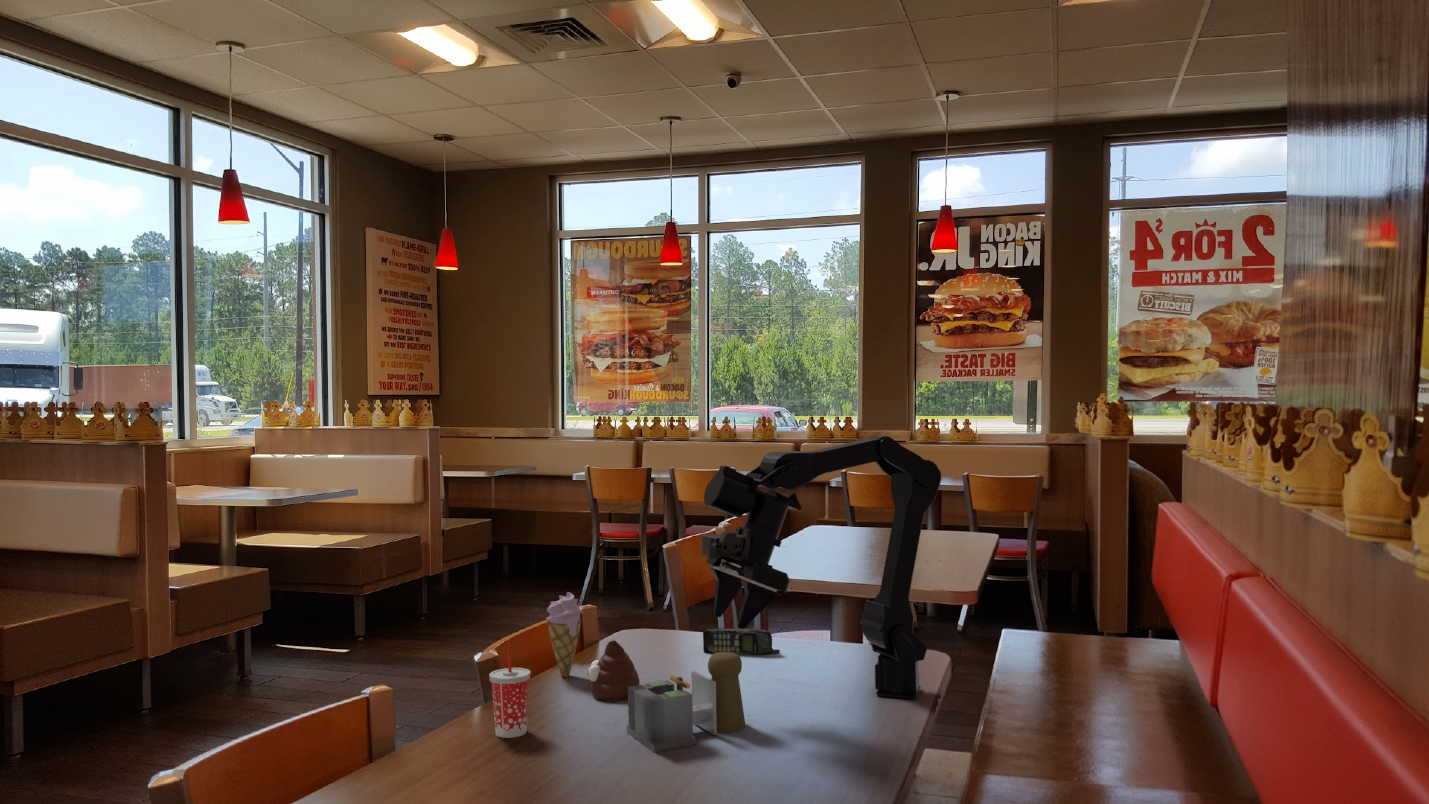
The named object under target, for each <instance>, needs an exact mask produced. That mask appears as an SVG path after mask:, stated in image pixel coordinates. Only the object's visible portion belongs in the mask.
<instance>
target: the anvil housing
mask: <svg viewBox="0 0 1429 804" xmlns="http://www.w3.org/2000/svg"><path fill="white" fill-rule="evenodd" d="M627 703H628V705H627V706H628V707H627V708H628V711H627V712H628V713H627V714H628V725H626V733H627V734H628V735H630V736H631V737H633V738H634V739H635V740H637V741H638V742H639V743H641V744H642V745H644V747H646V748H648V749H649V750H650V751H652V752H653V753H660V752H664V751H670V750H674V749H681V748H684V747H685V748H686V747H690V746H691V747H692V746H695V745H697V744H696V736H694V725H693V708H692V692H689V691H687V690H686V689H683V691H680V690H677V689H676V690H675V684H674V682H672V681H669V680H663V679H662V680H661V679H660V680H655V681H648V682H646V683H643V684H639V685H637V686H631V687H628V699H627Z"/></svg>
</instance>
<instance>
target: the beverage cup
mask: <svg viewBox="0 0 1429 804" xmlns="http://www.w3.org/2000/svg"><path fill="white" fill-rule="evenodd" d="M507 660H508V661H507V665H508V667H506V668H501V669H500V668H499V669H496V670H494V671H491V672H490V673H489V674H488V675H489V682H490V683H491V694H492V703H493V704H492V707H493V718H494V730H495V736H496V737H498V738H502V739H504V738H507V739H512V738H517V737H521V736H523V735H526V733H527V730H528V729H527V728H528V727H527V725H528V708H529V707H528V704H529V703H528V702H529V700H528V699H529V685H530V684H529V682H530V681H529V680H530V679H531V670H530V669H528V668H523V667H512V639H510V638H509V639H507Z"/></svg>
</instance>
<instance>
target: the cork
mask: <svg viewBox="0 0 1429 804" xmlns="http://www.w3.org/2000/svg"><path fill="white" fill-rule="evenodd" d="M742 665H743V662H742V659H741V657H740V656H739V654H735V653H731V652H720V653H712V654H711V655H710V656H709V658H708V661H707V669H708V673H709V674H710V675H711V678H710V679H711V680H713V681H715V682H716V724H717V733H735V732H740V731H742V730H744V729H745V728H746V719H745V712H744V704H743V699H742V692H741V685H740V679H739V675H740V674H741V672H742Z"/></svg>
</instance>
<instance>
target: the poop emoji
mask: <svg viewBox="0 0 1429 804" xmlns="http://www.w3.org/2000/svg"><path fill="white" fill-rule="evenodd" d="M625 651H626V650H625V649H624V648H623V646H622V645H621V644H620V643H618V641H616V640H615V639H612V640H610V641H608V642H607V644H606V646H605V649H604V651H603V652H604V653H603V654H602V655H601V656H600V659H597V660H596V659H595V660H593V661H592V663H591V664H590V666H589V668H588V669H587V678H588V679H589V680H590V683H591V685H590V692H591V694H592V696H593V697H595V698H596V699H598V700H600V701H605V702H618V701H620V702H621V701H625V700H626V701H627V700H628V687H631V686H637V685H641V684H640V677H639V674H638V672H637V670H636V668H635V664H634V662H633V661H632V659H631V657H630V656H629V654H628V653H627V652H625Z"/></svg>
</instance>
